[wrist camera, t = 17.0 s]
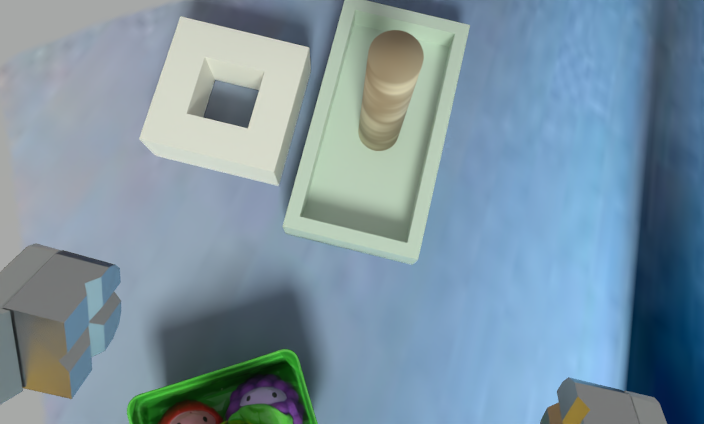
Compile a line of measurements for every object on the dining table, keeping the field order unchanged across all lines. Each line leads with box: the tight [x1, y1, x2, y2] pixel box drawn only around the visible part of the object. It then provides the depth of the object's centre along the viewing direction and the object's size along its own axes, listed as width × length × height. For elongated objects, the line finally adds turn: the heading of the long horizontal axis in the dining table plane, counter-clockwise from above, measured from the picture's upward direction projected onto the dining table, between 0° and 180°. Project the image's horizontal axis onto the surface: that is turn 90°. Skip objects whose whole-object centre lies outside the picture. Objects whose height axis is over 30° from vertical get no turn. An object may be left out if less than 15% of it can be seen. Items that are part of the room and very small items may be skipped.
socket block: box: [139, 16, 311, 186], centre depth 46 cm, size 10×10×4 cm
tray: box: [283, 0, 470, 265], centre depth 46 cm, size 10×19×3 cm, turn 166°
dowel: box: [358, 30, 424, 151], centre depth 41 cm, size 3×3×13 cm
